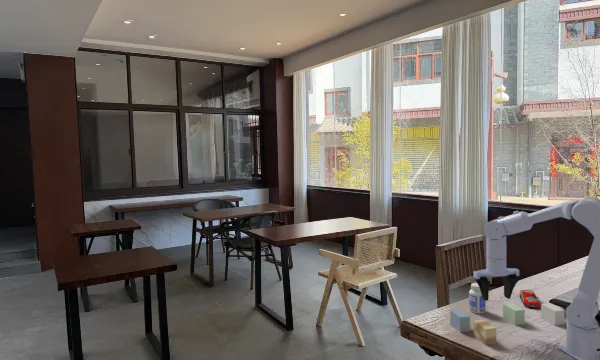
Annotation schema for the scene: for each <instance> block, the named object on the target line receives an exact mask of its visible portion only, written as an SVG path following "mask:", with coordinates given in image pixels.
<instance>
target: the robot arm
mask: <svg viewBox="0 0 600 360" xmlns="http://www.w3.org/2000/svg"><path fill="white" fill-rule="evenodd" d="M556 218H564V219H566V220H572V219H574V220H575V222H577V223H579V224H580V225H582V226H583V227H584V228H586V229H587V230H588V231H589V232H590V234H592V236H593V241H592V244H591V247H590V250H589V253H588V257H587V260H586V263H585V265H584V269H583V271H582V272H583V273H582V275H581V278H580V282H579V284H578V288H577V291H576V293H575V295H574V297H573V300H572V302H571V303H570V304H569V305H568V306H567V307H566V309H565V317H566V330H565V331H566V341H565V342H566V344H565V345H558V347H557V348H558V349H559V350H561V351H562V352H564V353H566V354H567V355H569V356H571V357H572V358H574V359H575V360H600V327H599V322H598V320H597V319H596V315H598V314H599V311H600V307H599V304H598V303H599V302H598V301H599V296H600V198H598V197H597V198H596V197H593V196H592V197H591V196H589V197H585V198H583V199H581V200H580V199H575V200H569V201H564V202H561V203H558V204H555V205H552V206H549V207H545V208H543V209H540V210H537V211H535V212H534V211H533V212H531V213H528V212H526V211H523V210H522V211H519V210H515V211H513V212H512V214H509V215H507V216H502V215H500V216H499V217H497V218H496V219H493V220H490V221H488V222H486V224H484V227H483V234H484V235H485V237H486V243H485V244H486V246H485V247H486V251H485V252H486V254H485V255H486V268H485V269H479V270H474V271H473V278H474V280H475V283H478V286H479V288H480V291H481V294H482V299H484V300H485V301H486V302H487V301H489V292H490V285H491V281H490V280H488V278H497V277H498V278H499V277H500V278H502V282H503V297H504V298H506V299H507V300H509V299H511V297H512V295H513V291H514V288H515V287H516V286H517V283H518V282H519V277H520V270H519V269H518V268H512V267H511V268H509V267H507V236H511V235H515V234H518V233H522V232H526V231H529V230H531V229H532V227H533V225H534V224H537V223H541V222H545V221H550V220H553V219H556Z"/></svg>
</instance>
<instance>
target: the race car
mask: <svg viewBox="0 0 600 360" xmlns="http://www.w3.org/2000/svg"><path fill="white" fill-rule="evenodd" d="M539 298H540V297H539V296H537V295H536V294H535V292H534V291H533V290H530V289H521V290H519V299H520V301H521V303H522V304H523V306H524V307H525V308H530V309H541V302H540V300H539Z"/></svg>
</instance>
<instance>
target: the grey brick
mask: <svg viewBox="0 0 600 360" xmlns="http://www.w3.org/2000/svg"><path fill="white" fill-rule="evenodd" d="M540 310H541V312H540V319H542V320H543V321H545V322H547V323H549V324H551V325H553V326H557V327H558V326H565V317H566V315H565V311H566V309H564V308H561V307H559V306H557V305H555V304H553V303H551V302H549V303H540Z"/></svg>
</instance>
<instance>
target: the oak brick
mask: <svg viewBox="0 0 600 360" xmlns="http://www.w3.org/2000/svg"><path fill="white" fill-rule="evenodd" d="M473 337H475V338H476V339H477V340H479V341H480V342H481V341H482V342H483V345H485V346H487V345H486V344H490V345H496V344H497V327H496V326H494V325H493V324H491V323H490V322H488V321H487V320H485V319H479V320H478V319H476V320H475V319H474V320H473ZM482 342H481V343H482Z"/></svg>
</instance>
